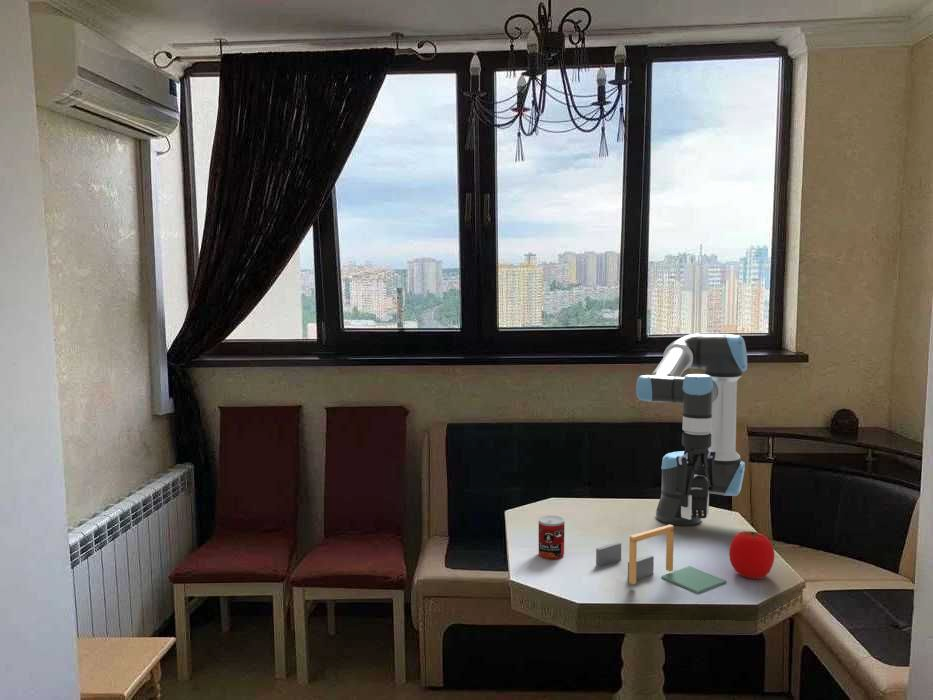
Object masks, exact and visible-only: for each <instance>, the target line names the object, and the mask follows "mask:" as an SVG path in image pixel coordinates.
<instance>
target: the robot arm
mask: <svg viewBox="0 0 933 700" xmlns="http://www.w3.org/2000/svg"><path fill="white" fill-rule="evenodd" d="M662 357H663V358H662V359H661V361H660V362H659V363H658V365H657V366H656V368H655V369H654V370H653V372H652V373H651V374H645V375H644V374H643V375H639V376H638V377H637V381H636V385H635V386H636V387H635V390H636V391H635V394H636V398H638V400H639V401H642V402H643V401H644V402H649V403H652V402H653V403H671V404H682V428H681V429H682V431H683V432H682V433H681V445H682V446H683V447H684V450H682V451H681V450H680V451H673V452H668V453H666V454H665V455H664V456H663V457H662V461H661V467H660V468H661V493H660V498H659V500H658V504H657V508H656V510H655V518H656V519H657V520H658V521H660V522H662V523H665V524H667V525H669V524H670V525H673V526H695V525H698V524H700V523H701V522H702V518H691V508H692V495H689V494H690V490H691V486H692V482H693V478H694V475H702V476H705V477H706V478H707V480H708V500H707V516H708V515H709V511H710V509H709V506H710V494H714V495H720V496H724V497H725V496H728V497H729V496H730V497H731V496H733V497H736V496H738V495H739V494H740V493H741V491H742V485H743V481H744V476H745V475H744V474H745V469H746V466H745V465H746V462H744V461H742V460H741V455H740V454H739V453H738V451H736V448H737V444H736V443H737V442H736V441H737V402H738V401H737V398H738V397H737V396H738V395H737V394H738V393H737V392H738V381H739V379H741V378H742V376H743V372H746V371H747V369H748V353H747V347H746V342H745V339H744V337H743V336H741V335H738V334H730V333H705V334H704V333H692V334H687V335H685V336H682V337H680V338H677V339H676V340H674V341H672V342H671V343H670V344H668V345H667V346H666V348H665V350H664V351H663V355H662ZM688 369H696V370H697V369H699V370H704V373H703V374H702V373H690V374H686V375H684V376H682V375H683V374H684V371H686V370H688Z"/></svg>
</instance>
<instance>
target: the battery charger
mask: <svg viewBox="0 0 933 700" xmlns="http://www.w3.org/2000/svg"><path fill="white" fill-rule="evenodd" d="M689 495H692V508H691V518H701V519H706V518H707V517H708V515H707V500H708V480H707V478H706V477H705V476H702V475H694V478H693V482H692V486H691V490H690V494H689Z"/></svg>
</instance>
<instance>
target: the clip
mask: <svg viewBox="0 0 933 700" xmlns="http://www.w3.org/2000/svg"><path fill="white" fill-rule="evenodd" d="M595 552H596V553H595V556H596V557H595V565H596V566H597V567H599V566H600V567H602V565H603V566H605V565H609V564H612V563H615V562H618V561H621V560H622V542H619V541H617V542H614V543H610V544H607V545H604V546H600V547H597V548H596V550H595ZM654 559H655V557H654V555H652V554H649V555H646V556H643V557H640V558H636V580H638V579H641V578H645V577H647V576H650V575H653V574H654ZM627 581H629V561H628V562H627Z"/></svg>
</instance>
